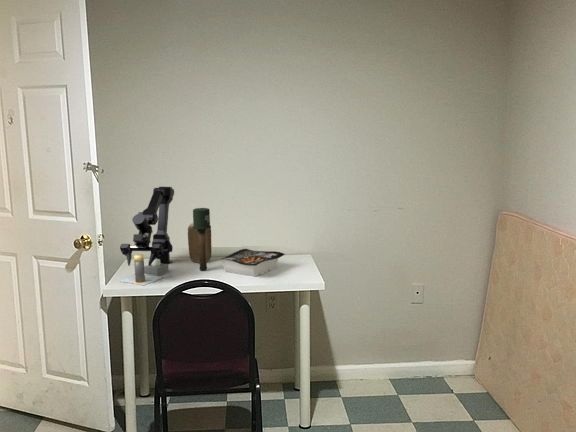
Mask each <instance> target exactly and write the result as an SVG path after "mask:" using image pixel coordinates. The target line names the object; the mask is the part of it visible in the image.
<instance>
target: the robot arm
mask: <svg viewBox="0 0 576 432" xmlns="http://www.w3.org/2000/svg"><path fill="white" fill-rule="evenodd" d="M151 195H152V196H151V197H150V201H149V202H148V205H147V207H146V208H145V209H143V210H142V211H138V213H137V214H135V215H134V216H133V217H132V223H133V224H134V226H135V228H136V230H138V233H135V234H133V237H132V238H133V240H132V241H133V242H134V243H133V244H134V246H131V244H130V243H121V244H120V246H119V249H120V253H121V254H122V255H123V256H125V257H126V260H127V261H126V262H127V266H128V267H130V266H131V261H132V257H133V255H132V253H133V252H150V255H149V259H148V263H147V265H149V266H150V265H151V264H152V262H153V261H154V260H155V259H160V263H162V264H168V265H169V264H172V263H173V261H172V260H170V259H171V258H170V253H172V252H173V248H174V247H173V245H172V243H171V240H170V238H171V237H169V234H168V222H169V210H170V209H169V207H170V204H171V202H172V201H173V199H174V196H175V189H174V188H173V187H172V186H158V187H154V188H153V191H152V194H151ZM155 225H157V229H156V233H153V227H152V226H155ZM152 233H153V235H152ZM151 238H152V240H151ZM150 244H151V246H150Z"/></svg>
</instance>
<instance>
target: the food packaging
mask: <svg viewBox="0 0 576 432" xmlns="http://www.w3.org/2000/svg"><path fill="white" fill-rule="evenodd" d="M284 255H285V253H284V252H280V251H263V250H261V251H260V250H259V251H258V250H253V249H249V248H242V249H239V250H237V251H235V252H233V253H231V254H229V255H227V256H225V257H222V258H221V262H222V265H223V268H224V271H225V273H232V274H237V275H244V276H249V277H258V276H259V275H261V276H262V275H263V274H264V273H267V272H268V271H269V272H270V271H273V270H274V269H276V268H277V266H278V261H279V259H280V258H281V257H283V256H284Z"/></svg>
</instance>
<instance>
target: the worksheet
mask: <svg viewBox="0 0 576 432" xmlns="http://www.w3.org/2000/svg"><path fill="white" fill-rule="evenodd" d="M162 279H163V277H161V276H156V275H150V274H145V282H142V283H137V282H135V275H133V276H130V277H127V278H124V279H122V280H119V282H120V283H126V284H131V285H136V286H137V285H139V286H144V287H145V286H146V285H149V284H151V283H155V282H156V281H159V280H162Z"/></svg>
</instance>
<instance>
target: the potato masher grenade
mask: <svg viewBox="0 0 576 432" xmlns="http://www.w3.org/2000/svg"><path fill="white" fill-rule="evenodd" d="M210 210H211V209H210V208H207V207H197V208H196V207H195V208H193V209H192V218H193V222H192V223H193V229H198V232H199V242H200V262H199V271H201V272H206V271H207V270H208V265H207V263H208V262H206V252H205V240H206V236H205V233H206V231H205V230H206V229H209V228H211V229H212V226H211V212H210Z"/></svg>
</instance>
